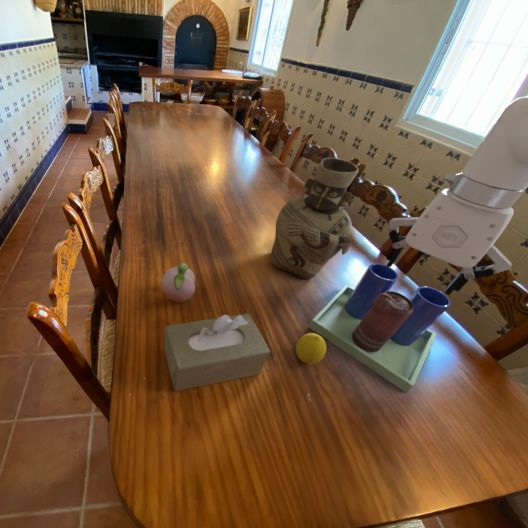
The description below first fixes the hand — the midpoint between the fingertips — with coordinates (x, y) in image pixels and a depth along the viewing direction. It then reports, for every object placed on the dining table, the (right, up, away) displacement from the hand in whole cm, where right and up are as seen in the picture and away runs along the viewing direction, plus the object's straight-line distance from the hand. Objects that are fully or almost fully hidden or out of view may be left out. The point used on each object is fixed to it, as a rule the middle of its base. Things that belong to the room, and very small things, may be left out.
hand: (417, 276), depth 55 cm
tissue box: (-38, -18, +7) cm, 43 cm away
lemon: (-17, -19, +9) cm, 27 cm away
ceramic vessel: (-8, +3, +37) cm, 38 cm away
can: (-1, -16, +13) cm, 21 cm away
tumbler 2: (+8, -15, +16) cm, 23 cm away
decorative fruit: (-45, -6, +21) cm, 50 cm away
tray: (+1, -14, +16) cm, 22 cm away
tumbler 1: (+1, -10, +21) cm, 24 cm away
